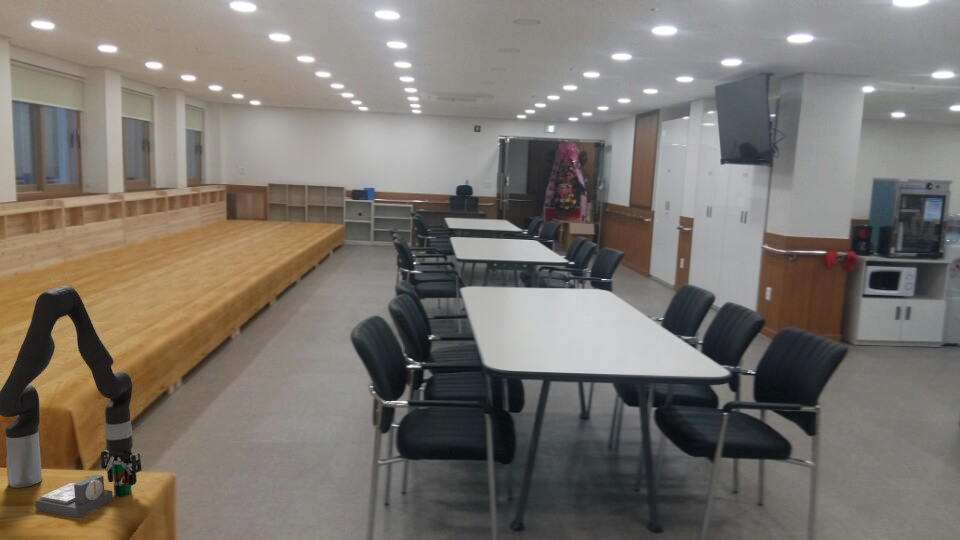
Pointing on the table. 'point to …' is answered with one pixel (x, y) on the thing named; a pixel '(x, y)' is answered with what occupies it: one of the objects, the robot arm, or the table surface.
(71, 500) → the scale platform
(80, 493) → the scale base
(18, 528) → the table surface
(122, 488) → the soda can
